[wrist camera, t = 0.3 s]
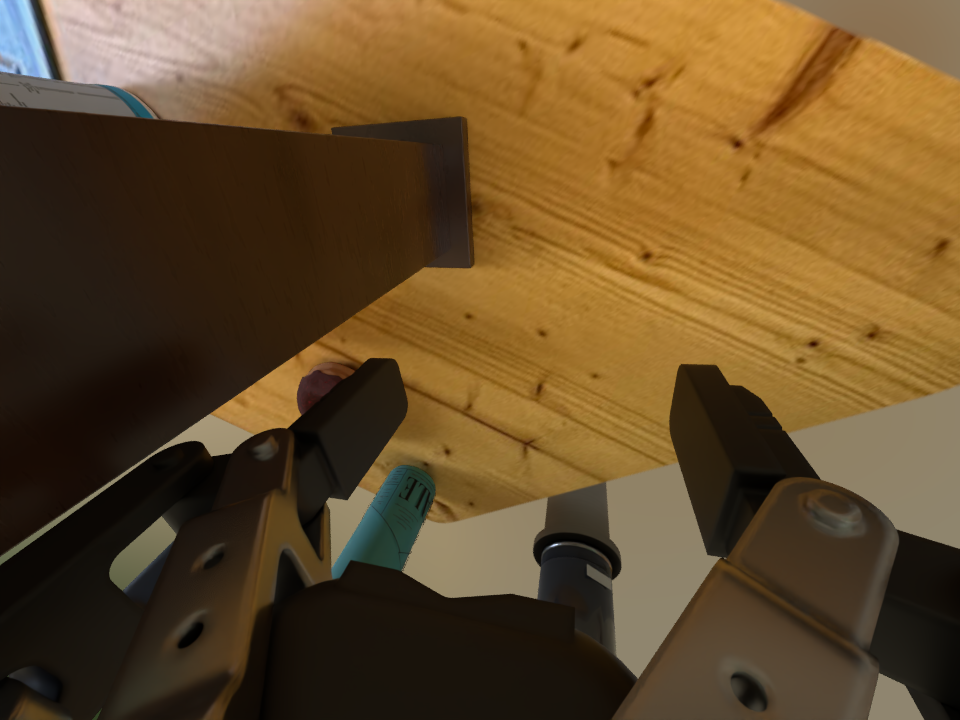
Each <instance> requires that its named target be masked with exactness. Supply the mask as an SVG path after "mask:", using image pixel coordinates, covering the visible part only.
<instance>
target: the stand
mask: <svg viewBox="0 0 960 720" xmlns="http://www.w3.org/2000/svg"><path fill="white" fill-rule="evenodd" d="M331 131H332V135H330V134H319V133H308V132H296V131H285V130H274V129H263V128H252V127H241V126H230V125H219V124H208V123H197V122H186V121H174V120H163V119H152V118H141V117H130V116H119V115H108V114H97V113H86V112H75V111H64V110H53V109H41V108H30V107H19V106H8V105H0V557H1V556H2V555H3V554H5V553H6V552H8V551H9V550H11V549H12V548H14V547H15V546H17V545H18V544H19V543H21V542H22V541H24V540H25V539H27V538H28V537H30V536H31V535H33V534H34V533H36V532H37V531H39V530H40V529H42V528H43V527H44V526H46V525H47V524H49V523H50V522H51V521H53V520H55V519H56V518H58V517H59V516H61V515H62V514H63V513H65V512H66V511H68V510H69V509H71V508H72V507H73V506H75V505H77V504H78V503H80V502H81V501H83V500H84V499H85V498H87V497H88V496H90V495H91V494H93V493H94V492H96V491H97V490H99V489H100V488H102V487H103V486H104V485H106V484H107V483H109V482H110V481H112V480H113V479H115V478H116V477H118V476H119V475H121V474H122V473H123V472H125V471H126V470H128V469H129V468H131V467H132V466H134V465H135V464H137V463H138V462H140V461H141V460H143V459H144V458H146V457H147V456H148V455H150V454H151V453H153V452H154V451H156V450H157V449H158V448H160V447H162V446H163V445H164V444H166V443H167V442H169V441H170V440H172V439H173V438H175V437H176V436H178V435H179V434H180V433H182V432H183V431H185V430H187V429H188V428H189V427H191V426H192V425H194V424H195V423H197V422H198V421H200V420H201V419H203V418H204V417H206V416H207V415H209V414H210V413H211V412H213V411H214V410H216V409H217V408H219V407H220V406H222V405H223V404H225V403H226V402H228V401H229V400H231V399H232V398H233V397H235V396H236V395H238V394H239V393H241V392H242V391H244V390H245V389H247V388H248V387H250V386H251V385H252V384H254V383H255V382H257V381H258V380H260V379H261V378H263V377H264V376H266V375H267V374H269V373H270V372H272V371H273V370H274V369H276V368H277V367H279V366H280V365H282V364H283V363H285V362H286V361H288V360H289V359H291V358H292V357H293V356H295V355H296V354H298V353H299V352H301V351H302V350H304V349H305V348H307V347H308V346H310V345H311V344H313V343H314V342H315V341H317V340H318V339H320V338H321V337H323V336H324V335H326V334H327V333H329V332H330V331H332V330H333V329H335V328H336V327H337V326H339V325H340V324H342V323H343V322H345V321H346V320H348V319H349V318H351V317H352V316H354V315H355V314H356V313H358V312H359V311H361V310H362V309H364V308H365V307H367V306H368V305H370V304H371V303H373V302H374V301H376V300H377V299H378V298H380V297H381V296H383V295H384V294H386V293H387V292H389V291H390V290H392V289H393V288H395V287H396V286H398V285H399V284H400V283H402V282H403V281H405V280H406V279H408V278H409V277H411V276H412V275H414V274H415V273H417V272H418V271H419V270H421V269H422V268H424V267H437V268H471V267H472V266H473V265H474V247H473V229H472V210H471V191H470V172H469V153H468V134H467V119H466V118H464V117H461V116H460V117H449V118H437V119H426V120H414V121H403V122H391V123H380V124H368V125H357V126H345V127H334V128H331Z"/></svg>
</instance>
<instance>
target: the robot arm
mask: <svg viewBox="0 0 960 720" xmlns="http://www.w3.org/2000/svg"><path fill="white" fill-rule="evenodd" d="M407 408H408V401H407V396H406V393H405V389H404V385H403V381H402V377H401V374H400V370H399V366H398V363H397V362H396V360H394V359H391V358H370V359H368V360H367V361H366V362H365V363H364V364H363V365H361V366H360V367H359V368H358V369H357V370H356V371H355V372H354V373H353V374H352V375H350V376H348V377H346V378H345V379H343V380H341V381H340V382H338V383H337V384H336V385H335V386H334V387H333V388H332V389H331V390H330V391H329V393H326V394H325V395H324V396H323V397H322V398H321V399H320V402H319V401H317V402H316V403H315V404H314V405H313V406H312V407H311V408H310V409H308V410H307V411H306V412H305V413H304V414H303V415H302V416H301V417H300V418H298V419H297V420H296V421H295V422H294V423H293V424H292V425H291V426H290V427H289V428H287V429H286V428H275V429H270V430H267V431H264V432H261V433H259V434H256V435H254V436H253V437H251V438H249V439H247V440H246V441H244V442H243V443H242V444H240V445H239V446H238V447H237V448H236V449H235V450H234V451H233V453H232V454H225V455H219V456H212V457H211V456H210V454H209V452H208V451H207V449H206V448H205V446H204V445H203V443H201V442H198V441H189V442H184V443H180V444H177V445H174V446H171V447H169V448H167V449H164V450H162V451H160V452H159V453H157V454H155V455H153V456H152V457H150V458H149V459H147V460H146V461H145V462H143V463H142V464H140V465H139V466H138V467H136V468H135V469H133V470H132V471H131V472H129V473H128V474H127V475H125V476H124V477H122V478H121V479H120V480H118V481H117V482H115V483H114V484H113V485H111V486H110V487H108V488H107V489H106V490H104V491H103V492H101V493H100V494H99V495H98V496H96V497H94V498H93V499H92V500H90V501H89V502H88V503H86V504H85V505H83V506H82V507H81V508H79V509H78V510H76V511H75V512H74V513H72V514H71V515H69V516H68V517H67V518H65V519H64V520H63V521H61V522H60V523H58V524H57V525H56V526H54V527H53V528H51V529H50V530H49V531H47V532H46V533H44V534H43V535H42V536H40V537H39V538H37V539H36V540H35V541H33V542H32V543H30V544H29V545H28V546H26V547H25V548H24V549H22V550H21V551H19V552H18V553H17V554H15V555H14V556H12V557H11V558H10V559H8V560H7V561H5V562H4V563H3V564H1V565H0V720H92V719H93V718H94V717H95V715H96V714H97V713H98V712H99V711H100V710H101V708H102V710H101V712H100V714H99V717H98V719H97V720H868V716H869V712H870V708H871V704H872V700H873V696H874V692H875V687H876V684H877V680H878V674H879V673H880V674H883V675H885V676H887V677H889V678H891V679H893V680H895V681H898V682H900V683H902V684H904V685H905V686H906V688H907V689H908V691H909V693H910V695H911V696H912V698H913V700H914V702H915V704H916V705H917V707H918V709H919V711H920V713H921V715H922V716H923V718H924V720H960V549H958V548H955V547H951V546H948V545H945V544H942V543H938V542H935V541H932V540H929V539H925V538H922V537H919V536H915V535H913V534H909V533H906V532H903V531H900V530H897V529H895V527H894V525H893V524H892V522H891V521H890V520H889V518H888V517H887V516H885V514H884V513H883V512H882V511H881V510H879V509H878V508H877V507H876V506H874V505H873V504H872V503H870V502H869V501H867V500H866V499H864V498H863V497H861V496H859V495H857V494H856V493H854V492H852V491H850V490H847V489H845V488H843V487H840V486H838V485H835V484H833V483H829V482H826V481H823V480H821V479H820V478H819V476H818V475H817V474H816V472H815V471H814V469H813V468H812V467H811V466H810V464H809V463H808V461H807V460H806V459H805V457H804V456H803V455H802V453H801V452H800V451H799V449H798V448H797V447H796V445H795V444H794V442H793V441H792V440H791V438H790V437H789V436H788V434H787V433H786V432H785V431H782V426H781V425H780V424H779V422H778V421H777V419H776V418H775V417H773V416H772V413H771V411H770V410H769V409H768V407H767V406H766V405H765V403H764V402H763V401H762V399H761V398H759V397H758V396H756V395H755V394H753V393H752V392H750V391H749V390H747V389H746V388H744V387H743V386H735V385H729V384H728V382H727V380H726V379H725V377H724V376H723V374H722V373H721V371H720V370H719V368H718V367H717V366H716V365H697V364H681V365H680V366H679V368H678V371H677V377H676V382H675V388H674V394H673V399H672V405H671V411H670V420H669V425H670V435H671V439H672V442H673V446H674V449H675V452H676V455H677V458H678V462H679V465H680V468H681V471H682V474H683V477H684V481H685V484H686V487H687V491H688V494H689V497H690V500H691V503H692V506H693V510H694V513H695V516H696V519H697V522H698V526H699V529H700V532H701V535H702V539H703V542H704V545H705V548H706V552H707V555H711V556H718V557H722V558H720V559H719V560H718V561H717V563H716V564H715V565H714V566H713V568H712V570H711V571H710V572H709V574H708V575H707V577H706V578H705V580H704V581H703V583H702V584H701V586H700V587H699V589H698V590H697V592H696V593H695V595H694V596H693V598H692V599H691V601H690V602H689V604H688V605H687V607H686V608H685V610H684V611H683V613H682V614H681V616H680V617H679V619H678V620H677V622H676V623H675V625H674V626H673V628H672V629H671V631H670V632H669V634H668V635H667V637H666V638H665V640H664V641H663V643H662V644H661V646H660V647H659V649H658V650H657V652H656V653H655V655H654V656H653V658H652V659H651V661H650V662H649V664H648V665H647V667H646V668H645V670H644V671H643V673H642V674H641V676H640V677H639V679H637V677H636V676H635V675H634V674H633V673H632V672H631V671H630V670H629V669H628V668H627V667H626V666H625V665H624V664H623V663H622V661H621V660H619V659H618V658H617V657H616V641H615V626H614V610H613V594H612V578H611V575H612V565H611V561H610V559H609V557H608V556H607V555H606V554H605V553H604V552H603V551H602V550H601V549H599V548H598V547H596V546H594V545H592V544H590V543H587V542H584V541H580V540H575V539H559V540H555V541H552V542H550V543H548V544H547V545H546V546H545V547H544V548H543V550H542V555H541V571H540V580H539V589H538V598H537V599H533V598H529V597H524V596H519V595H515V594H503V595H488V596H474V597H461V598H460V597H459V598H448V597H444V596H442V595H440V594H438V593H437V592H435V591H433V590H432V589H430V588H428V587H427V586H425V585H423V584H421V583H420V582H418V581H416V580H415V579H413V578H411V577H410V576H408V575H406V574H404V573H403V572H401V571H399V570H397V569H392V568H387V567H383V566H378V565H373V564H369V563H364V562H359V561H354V560H350V562H349V563H348V565H347V567H346V568H345V570H344V572H343V573H342V575H341V577H340V578H337V579H333V578H332V571H331V534H330V509H329V507H328V505H327V503H326V501H327V499H328V498H329V497H330V498H336V499H343V500H348V499H349V497H350V496H351V494H352V493H353V491H354V490H355V488H356V487H357V486H358V484H359V483H360V481H361V480H362V478H363V477H364V476H365V474H366V473H367V471H368V470H369V468H370V467H371V466H372V464H373V463H374V461H375V460H376V458H377V457H378V456H379V454H380V453H381V451H382V450H383V448H384V447H385V446H386V444H387V443H388V441H389V440H390V438H391V437H392V436H393V434H394V433H395V431H396V430H397V428H398V427H399V426H400V424H401V423H402V421H403V420H404V418H405V416H406V413H407ZM161 516H162V517H163V518H164V519H165V521H166V522H167V523H168V524H169V525H170V527H171V528H172V529H173V530H174V532H175V533H176V534H177V536H176V538H175V540H174V541H173V542H172V543H171V544H170V545H169V546H168V547H167V548H166V549H165V550H164V551H163V552H162V553H161V554H160V555H159V556H158V557H157V558H156V559H155V560H154V561H153V562H152V563H151V564H150V565H149V566H148V567H147V568H146V569H144V570H143V572H141V573H140V574H139V575H138V577H136V578H135V579H134V580H133V581H132V582H131V583H130V584H129V585H128V587H126V588H125V589H124V590H123V591H122V590H121V589H119V588H118V587H117V586H116V585H115V584H114V583H113V582H112V581H111V580H110V577H109V570H110V567H111V564H112V562H113V561H114V559H115V558H116V556H117V555H118V554H119V553H120V552H121V551H122V550H124V549H125V548H126V547H127V546H128V545H129V544H130V543H131V542H132V541H134V540H135V539H136V538H137V537H138V536H139V535H140V534H142V533H143V532H144V531H145V530H146V529H147V528H148V527H149V526H151V525H152V524H153V523H154V522H155V521H156V520H157V519H158V518H160V517H161ZM723 557H725V558H727V559H724V558H723ZM8 675H9V677H7V676H8Z"/></svg>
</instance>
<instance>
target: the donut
mask: <svg viewBox="0 0 960 720" xmlns="http://www.w3.org/2000/svg"><path fill="white" fill-rule="evenodd" d="M354 372H355V371H354V370H352V369H350V368H348V367H346V366H344V365H341V364H338V363H333V362H327V363H322V364H319V365H317V366H315V367H314V368H312V369H311V370H310V371H309V373H308V375H306V376H305V377H303V378H302V379H301V382H300V384H299V388H298V391H297V403H298V409H299V411H300V413H301V414H302V415H303V414H304V413H305V412H306V411H307V410H308V409H310V408H311V407H312V406H313V405H314V404H315V403H316V402H317V401H319V402H320V399H321V398H322V397H323V396H324V395H325V394H326V393H329V391H330V390H331V389H332V388H333V387H334V386H335V385H336V384H337V383H338V382H340V381H341V380H343V379H345V378H346V377H348V376H350V375H352V374H353V373H354Z"/></svg>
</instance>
